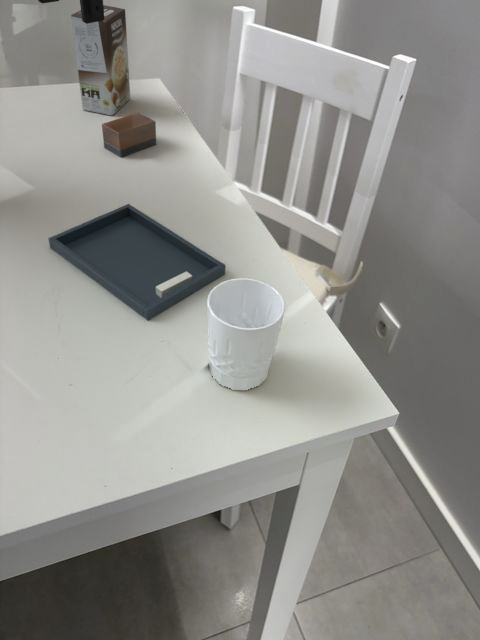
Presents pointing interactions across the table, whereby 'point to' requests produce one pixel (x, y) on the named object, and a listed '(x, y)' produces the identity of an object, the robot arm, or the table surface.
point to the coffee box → (102, 61)
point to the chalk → (173, 284)
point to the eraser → (129, 134)
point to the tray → (136, 259)
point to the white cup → (243, 331)
